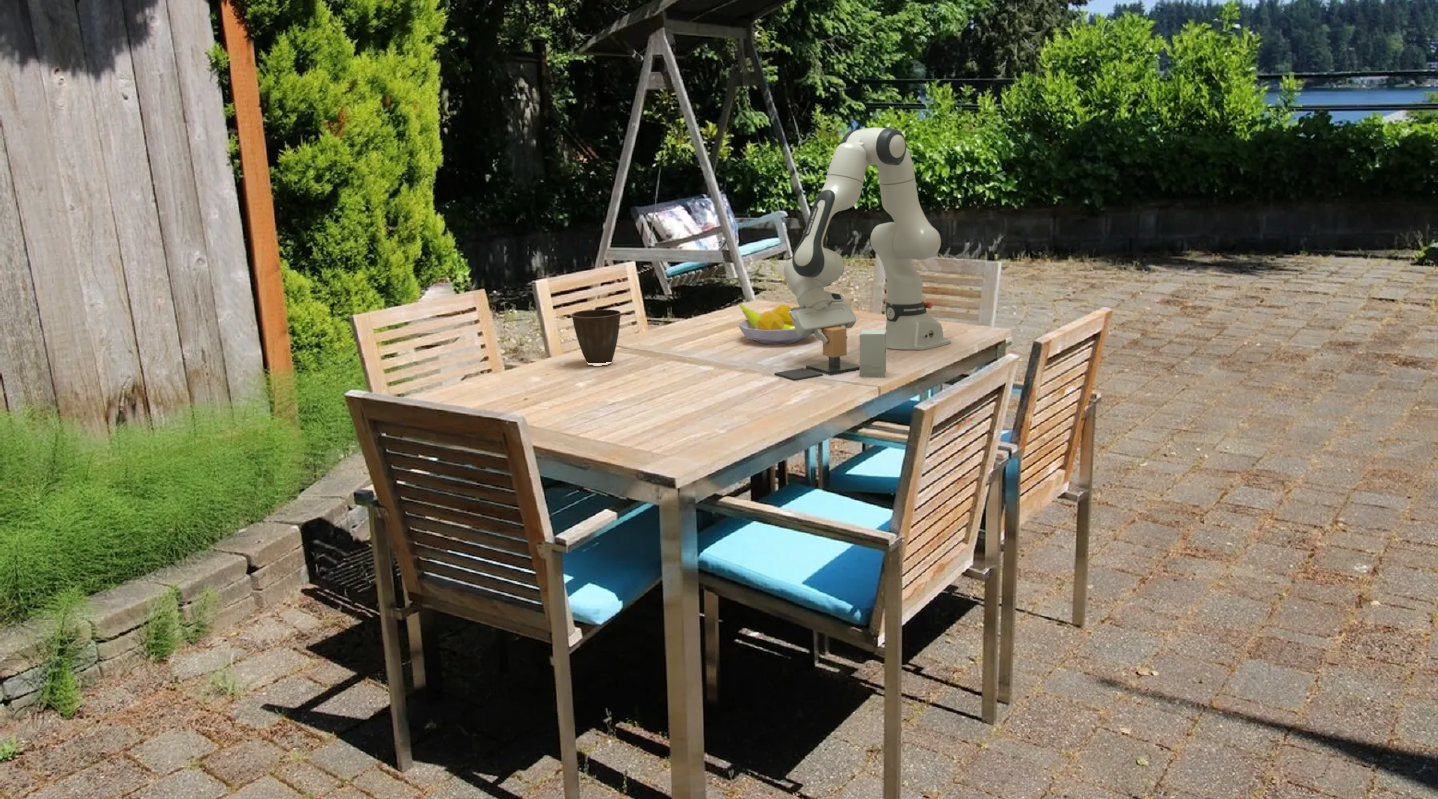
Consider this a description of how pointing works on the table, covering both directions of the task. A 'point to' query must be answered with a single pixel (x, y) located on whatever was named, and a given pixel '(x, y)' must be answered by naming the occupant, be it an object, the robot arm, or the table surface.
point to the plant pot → (597, 334)
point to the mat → (798, 374)
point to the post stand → (833, 366)
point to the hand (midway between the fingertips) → (835, 341)
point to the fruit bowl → (770, 326)
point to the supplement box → (872, 353)
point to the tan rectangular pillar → (835, 341)
